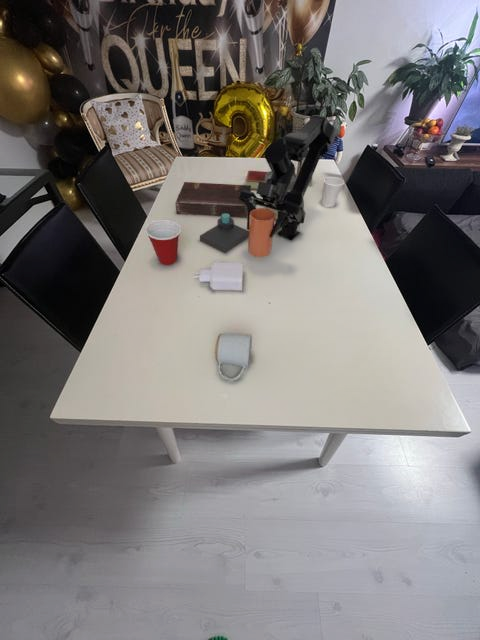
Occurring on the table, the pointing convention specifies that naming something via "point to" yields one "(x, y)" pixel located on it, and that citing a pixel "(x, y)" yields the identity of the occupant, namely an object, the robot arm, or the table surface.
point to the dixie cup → (331, 190)
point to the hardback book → (211, 199)
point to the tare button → (225, 218)
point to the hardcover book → (255, 178)
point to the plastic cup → (164, 239)
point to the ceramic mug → (233, 351)
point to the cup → (260, 232)
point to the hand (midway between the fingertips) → (258, 233)
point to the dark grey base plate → (224, 236)
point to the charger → (223, 275)
